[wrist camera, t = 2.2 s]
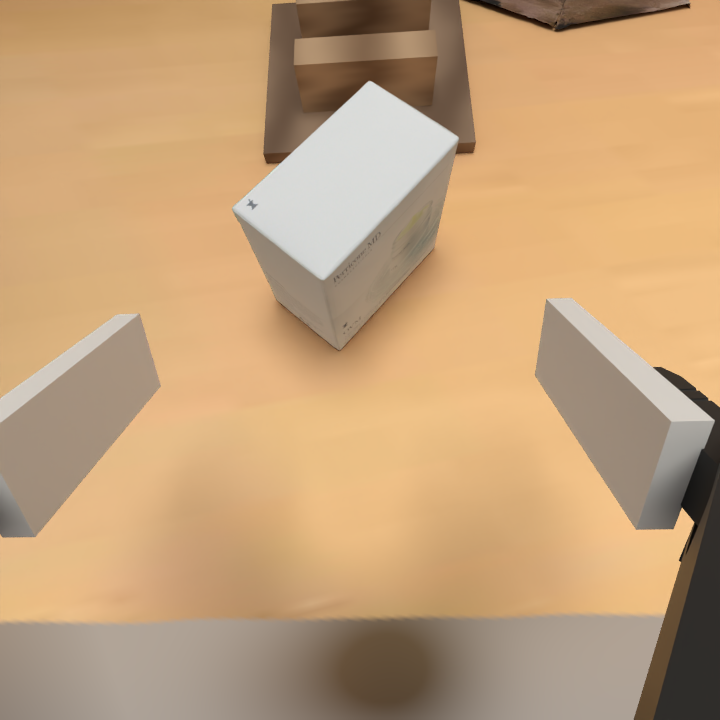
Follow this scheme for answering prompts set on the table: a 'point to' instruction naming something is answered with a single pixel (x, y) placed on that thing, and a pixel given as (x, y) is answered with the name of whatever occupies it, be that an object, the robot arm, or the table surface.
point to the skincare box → (350, 211)
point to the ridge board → (304, 124)
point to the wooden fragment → (582, 9)
